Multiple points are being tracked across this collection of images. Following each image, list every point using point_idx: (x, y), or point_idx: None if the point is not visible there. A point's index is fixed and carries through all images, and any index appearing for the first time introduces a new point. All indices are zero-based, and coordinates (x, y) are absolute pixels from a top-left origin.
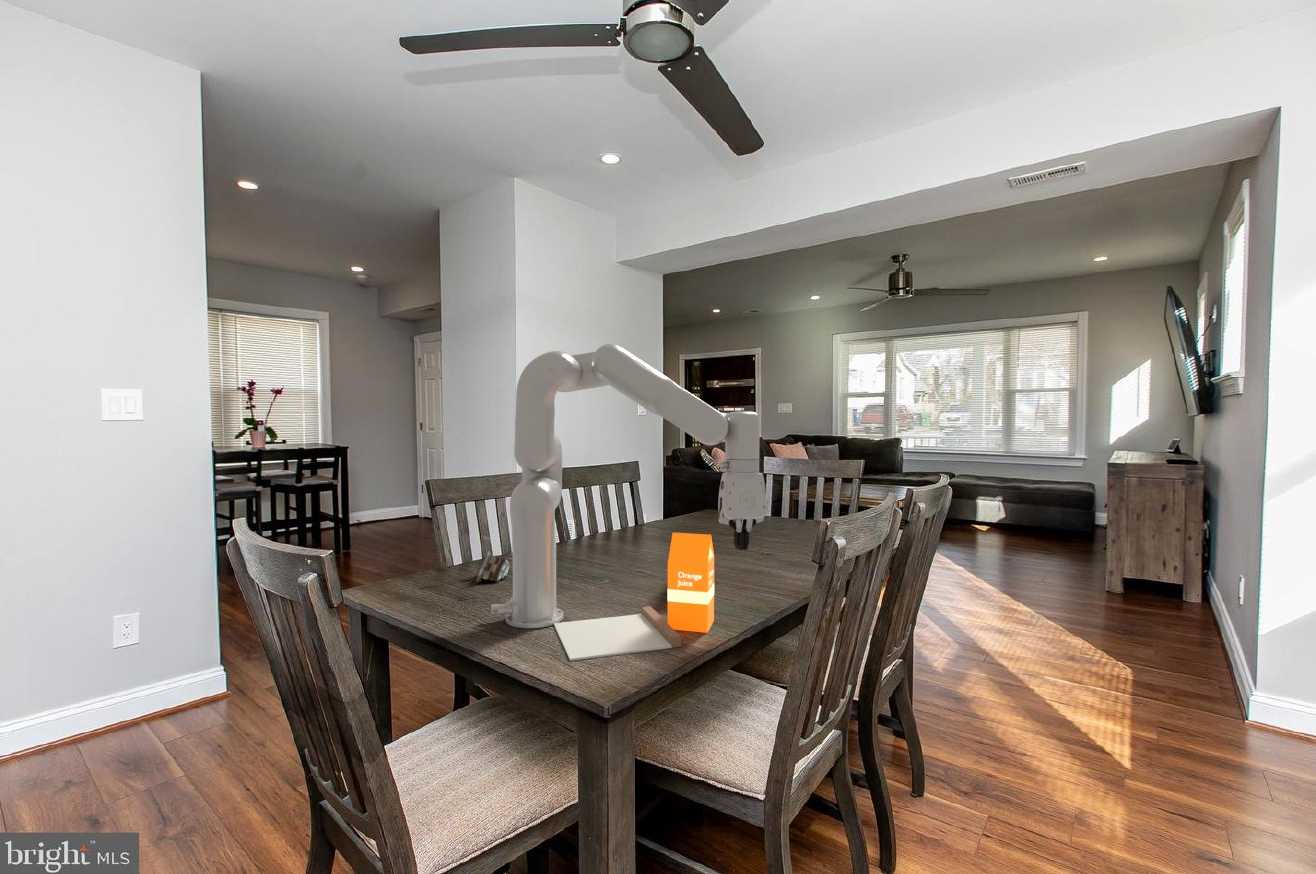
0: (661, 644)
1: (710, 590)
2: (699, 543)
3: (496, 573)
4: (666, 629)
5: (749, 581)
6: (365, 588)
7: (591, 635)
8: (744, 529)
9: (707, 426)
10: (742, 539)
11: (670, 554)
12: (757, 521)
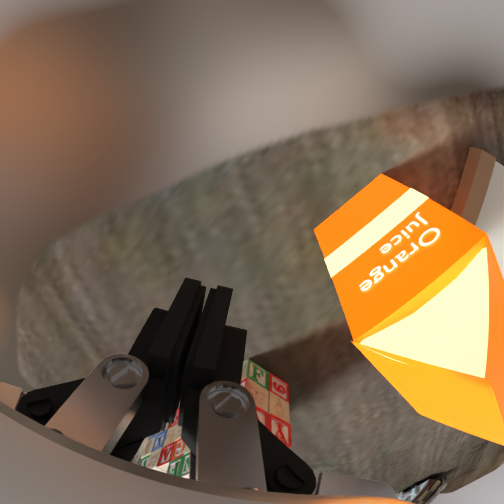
0: (493, 174)
1: (388, 226)
2: (500, 356)
3: (425, 488)
4: (478, 203)
5: (85, 375)
6: (493, 470)
7: None
8: (158, 395)
9: None
10: (214, 327)
11: None
12: (11, 397)
